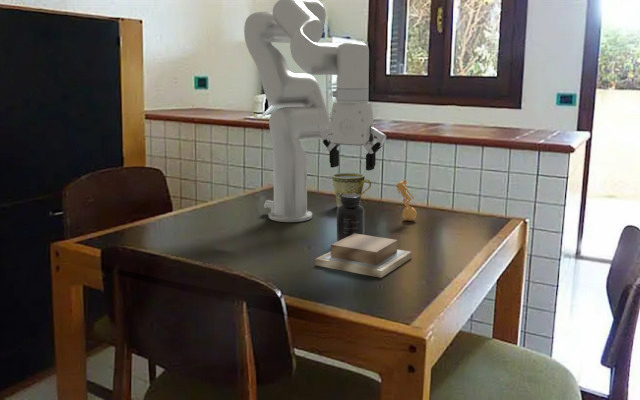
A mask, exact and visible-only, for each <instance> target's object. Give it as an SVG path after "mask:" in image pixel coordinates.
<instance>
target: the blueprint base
mask: <svg viewBox="0 0 640 400" xmlns="http://www.w3.org/2000/svg"><path fill="white" fill-rule="evenodd" d="M412 255H413V254H412V251H409V250H403V249H398V239H393V238H387V237H380V236H373V235H368V234H367V235H366V234H364V235H361V234H355V233H354V234H352V235H350V236H348V237H346V238H344V239H342V240H340V241H337V240H336V241H335V242H334V243H331V245H330V251H328V252H326V253H324V254H322V255H320V256H318V257H316V258H315V259H314V261H315V262H314V263H315V266H317V267H322V268H323V267H324V268H327V269H333V270H339V271H343V272H349V273H354V274H359V275H364V276H371V277H374V278H375V277H376V278H380V279H382V278H384V277H385V276H386V275H388V274H389V273H391V272H392V271H394V270H396V269H398V267H401V266H402V265H403V264H405V263H406V262H408V261H409V260H411V259H412Z"/></svg>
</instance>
